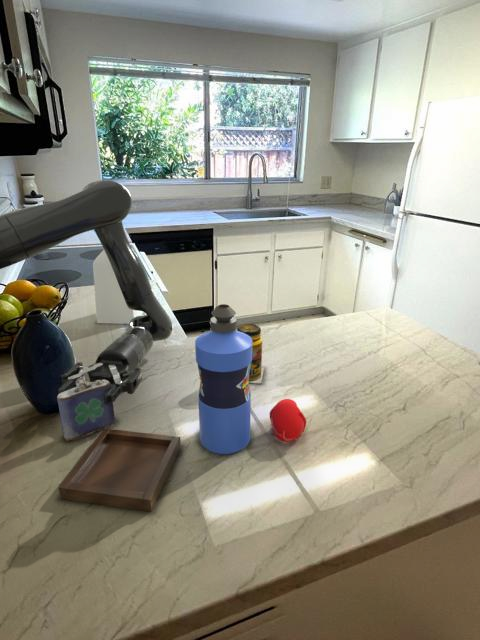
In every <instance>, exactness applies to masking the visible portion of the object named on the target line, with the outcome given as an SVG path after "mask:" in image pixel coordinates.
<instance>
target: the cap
mask: <svg viewBox="0 0 480 640" xmlns="http://www.w3.org/2000/svg"><path fill="white" fill-rule="evenodd" d="M269 420H270V424H271V428H272V431H273V435H274V437H275V438H276V439H277V440H279V441H280V442H284V443H291V442H295V441H296V440H298V439H299V438H300V437H301V436H302V434H303V433H304V432H305V429H306V427H307V419H306V417H305V415H304V413H303V412H302V411H301V409H300V408H299V406H298V404H297V402H296V401H295V400H293V399H291V398H284V399H280V400H279V401H278V402H277V403H276V404H275V405H274V406H273V407H272V408H271V410H270V411H269Z"/></svg>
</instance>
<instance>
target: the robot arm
mask: <svg viewBox="0 0 480 640" xmlns="http://www.w3.org/2000/svg"><path fill="white" fill-rule="evenodd" d="M132 204H133V200H132V196H131V194H130V191H129V190H128V189H127V188H126V187H125V186H124V185H123V184H122V183H119V182H117V181H114V180H111V179H101V180H96V181H92V182H90V183H88V184H86V185H85V186H84V187H83V188H82V189H81V191H78V192H76V193H75V194H72V195H70V196H68V197H66V198H63V199H60V200H56V201H52V202H48V203H43V204H38V205H33V206H27V207H23V208H20V209H15V210H12V211H8V212H5V213H3V214H0V270H2V269H4V268H8V267H10V266H13V265H15V264H17V263H20V262H23V261H25V260H27V259H30V258H33V257H34V256H36V255H39V254H41V253H43V252H46V251H48V250H50V249H52V248H53V247H56V246H59V244H62V243H63V242H66V241H68V240H69V239H71V238H73V237H76V236H78V235H82V234H84V233H87V232H91V231H93V232H94V234H95V235H96V237H97V238H98V240H99V243H100V244H101V247H102V248H103V250H105V252H106V255H107V257H108V259H109V262H110V264H111V266H112V269H113V271H114V274H115V276H116V279H117V282H118V284H119V287H120V289H121V292H122V295H123V297H124V300H125V302H126V305H127V307H128V308H129V309H131V310H137V311H143V313H145V314H142V315H141V316H137V317H135V318H133V319H131V320H130V322H129V324H127V327H126V330H125V332H124V333H122V334H121V336H119V337H117V338H116V339H115V340H113V341H112V342H111V343H110V344H109V345H108V346H107V347H106V348H105V349H103V350H102V351H101V352H100V353H99V354H98V356H97V357H96V360H95V362H94V363H91V364H90V365H89V366H85V365H84V364H83V362H81V361H79V362H76V363H75V364H74V365H72V366H73V367H72V366H71V367H72V368H71V367H70V368H71V369H70V368H69V369H70V370H69V369H68V370H69V371H68V372H67V373H65V372H64V373H65V374H63V373H62V374H63V375H62V374H61V375H60V377H61V383H62V385H61V386H60V387H59V388H58V394H60V393H62V392H64V391H67V390H70V389H72V388H75V387H78V384H79V382H76V381H78V380H77V379H79V380H81V379H80V377H83V376H84V378H85V381H89V382H96V381H97V380H107V381H109V382H110V383H111V387H110V388H109V389H108V390H107V391H106V392H105V394H104V404H105V405H110V403H111V402H113V403H114V402H115V401H116V400H117V399H118V398H119V396H122V395H124V393H127V395H132V394H134V393H135V391H136V390H137V388H138V387H139V385H140V383H141V382H142V380H143V375H142V374H143V372H142V368H141V367H140V365H141V363H142V362H143V360H144V358H145V357H146V356H147V354H148V353H150V352H151V350H152V348H153V346H154V342H160V341H166V340H167V339H169V338H170V337H171V335H172V333H173V324H172V320H171V317H170V316H169V315H168V313H167V312H166V309H164V307H163V305H162V304H161V303H160V302H159V300H158V298H157V297H156V295H155V294H154V291H153V288H152V285H151V283H150V279H149V277H148V274H147V272H146V270H145V267H144V265H143V264H142V262H141V260H140V259H139V256H138V255H136V254H137V253H136V251H135V250H134V249H133V247H132V245H131V242H130V240H129V238H128V236H127V233H126V231H125V227H124V224H123V220H125V219H126V218H127V217H128V215H129V214H130V212H131V210H132V207H133V205H132ZM137 256H138V257H137ZM87 375H88V378H89V380H87ZM69 376H70V377H69ZM82 379H83V378H82Z"/></svg>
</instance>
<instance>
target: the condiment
mask: <svg viewBox="0 0 480 640" xmlns="http://www.w3.org/2000/svg"><path fill="white" fill-rule="evenodd" d="M236 331H239V332H242V333H245V334H247V335H248V336H250V337H251V338H252V361H251V366H250V373H249V380H248V381H249V384H262V380H263V375H264V370H265V367H262V359H263V339H262V334H261V331H262V329H261V327H260V325H257V324H253V323H243V324H240V325H238V326H237V329H236Z"/></svg>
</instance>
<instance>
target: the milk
mask: <svg viewBox="0 0 480 640" xmlns="http://www.w3.org/2000/svg"><path fill="white" fill-rule="evenodd" d="M136 255H137V253H136ZM137 257H138V258H139V256H138V255H137ZM92 272H93V273H92V274H93V286H94V287H93V288H94V299H95V311H96V312H95V313H96V324H114V325H115V324H119V325H120V324H121V325H122V324H123V325H125V324H126V325H128V324H129V322H130V320H131V319H133V318H135V317H137V316H141V315H143V314H144V312H143V311H137V310H131V309H129V308H128V307H127V305H126V302H125V300H124V297H123V295H122V292H121V289H120V287H119V284H118V282H117V279H116V276H115V274H114V271H113V269H112V266H111V264H110V262H109V259H108V257H107V255H106V252H105V250H104V249H103V250H101V252H100V253H99V254H98V255H97V256H96V257H95V259H94V260H93V264H92Z"/></svg>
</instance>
